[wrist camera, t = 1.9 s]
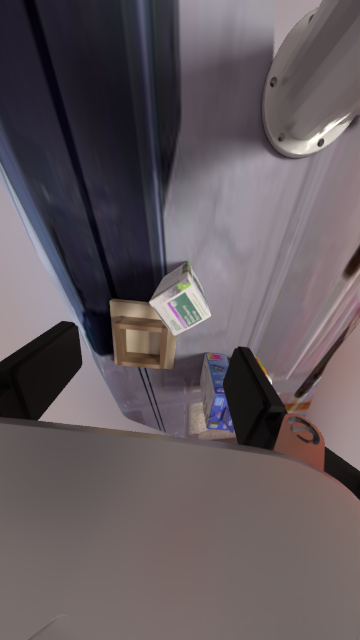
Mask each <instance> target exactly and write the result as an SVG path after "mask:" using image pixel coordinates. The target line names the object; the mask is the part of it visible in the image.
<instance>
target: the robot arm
mask: <svg viewBox="0 0 360 640" xmlns="http://www.w3.org/2000/svg"><path fill="white" fill-rule="evenodd" d="M271 86H272V87H271ZM356 115H360V0H323V1H322V2H321V4H320V6H319V7H317V8H316V9H314V10H312V11H311V12H309V13H308V14H307V15H306V16H304V17H303V18H302V19H301V20H300V21H299V22H298V23H297V24H296V25H295V27H294V28H293V29H292V30H291V31H290V33H289V34H288V35H287V37H286V38H285V40H284V42H283V43H282V45H281V46H280V48H279V50H278V52H277V54H276V56H275V58H274V60H273V62H272V65H271V67H270V70H269V72H268V75H267V78H266V82H265V86H264V91H263V99H262V119H263V125H264V129H265V132H266V135H267V138H268V140H269V141H270V143H271V145H272V146H273V147H274V148H275V149H276V150H277V151H278V152H279V153H281V154H283V155H284V156H287V157H291V158H303V157H307V156H311V155H313V154H315V153H317V152H319V151H321V150H322V149H324V148H325V147H327V146H328V145H330V144H331V143H332V142H333V141H335V140H336V139H337V138H338V137H339V136H340V135H341V134H342V133H343V132H344V131H345V130H346V128H347V127H348V126H349V124H350V123H351V121H352V120H353V119H354V117H355V116H356ZM278 139H279V140H280V142H279V141H278ZM81 366H82V355H81V347H80V339H79V331H78V326H77V325H75V323H73V322H67V321H61V322H60V323H58V324H57V325H55V326H54V327H52V328H51V329H49V330H48V331H46V332H45V333H43V334H42V335H40V336H39V337H37V338H36V339H34V340H32V341H31V342H29V343H28V344H26V345H25V346H23V347H22V348H20V349H19V350H17V351H16V352H14V353H13V354H11V355H10V356H8V357H7V358H5V359H4V360H2V361H1V362H0V640H360V471H359V470H357V469H356V468H355V467H353V466H352V465H350V464H349V463H348V462H346V461H345V460H343V459H342V458H341V457H339V456H338V455H336V454H335V453H334V452H332V451H331V450H329V449H328V448H327V447H325V443H324V438H323V436H322V434H321V432H320V431H319V430H318V429H317V427H316V426H315V425H314V424H312V423H311V422H310V421H309V420H307V419H306V418H304V417H302V416H301V415H298V414H295V413H287V411H286V409H285V406H284V404H283V403H282V401H281V399H280V398H279V396H278V394H277V393H276V391H275V390H274V388H273V386H272V385H271V383H270V381H269V380H268V378H267V376H266V375H265V373H264V371H263V370H262V368H261V367H260V365H259V363H258V362H257V360H256V358H255V357H254V355H253V353H252V352H251V350H250V349H249V348H247V347H240V346H239V347H238V348H235V349H234V352H233V355H232V358H231V360H230V363H229V366H228V369H227V371H226V374H225V377H224V380H223V389H224V393H225V397H226V400H227V404H228V408H229V412H230V415H231V419H232V423H233V426H234V430H235V434H236V438H237V441H238V444H239V445H238V444H230V443H224V442H216V441H208V440H200V439H192V438H183V437H175V436H167V435H159V434H150V433H141V432H132V431H123V430H115V429H107V428H98V427H90V426H80V425H70V424H62V423H53V422H44V421H38V419H40V417H41V416H42V415H43V413H44V412H45V411H46V410H47V409H48V407H49V406H50V405H51V403H52V402H53V401H54V400H55V399H56V398H57V396H58V395H59V394H60V393H61V391H62V390H63V389H64V388H65V386H66V385H67V384H68V383H69V382H70V380H71V379H72V378H73V377H74V375H75V374H76V373H77V372H78V370H79V369H80V368H81Z"/></svg>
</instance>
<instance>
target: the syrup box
mask: <svg viewBox="0 0 360 640" xmlns="http://www.w3.org/2000/svg"><path fill="white" fill-rule="evenodd" d="M149 303H150V305H151V306H152V307H153V308H154V310H155V311H156V313H157V314H158V316H159V317H160V319H161V320H162V322H163V323H164V324H165V325H166V327H167V328H168V329H169V331H170V332H171V333H172V335H173V336H176V335H177V334H179V333H181V332H183V331H185V330H187V329H189V328H191V327H193V326H195V325H197V324H198V323H200V322H202V321H204V320H205V319H207V318H209V317H210V316H211V314H210V311H209V308H208V304H207V301H206V297H205V294H204V291H203V288H202V285H201V283H200V281H199V279H198V278H197V276H196V274H195V272H194V271H193V269H192V267H191V266H190V264H189V262H188V261H186V262H185V263H184V264H182V265H181V266H179V267H178V268H176V269H175V270H173V271H172V272H170V273H169V274H167V275H166V276H164V277H163V279H162V281H161V282H160V284H159V286H158V288H157V289H156V291H155V293H154V295H153V296H152V298H151V300H150V301H149Z"/></svg>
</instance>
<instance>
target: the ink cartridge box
mask: <svg viewBox="0 0 360 640" xmlns="http://www.w3.org/2000/svg"><path fill="white" fill-rule="evenodd" d="M228 366H229V362H228V360H227V357H226V355H223V354H213V353H205V356H204V361H203V367H202V373H201V378H200V387H201V394H202V401H203V409H204V415H205V422H206V428H207V429H219V430H230V431H231V432H232V433H233V432H234V426H233V423H232V419H231V415H230V412H229V408H228V404H227V400H226V397H225V393H224V389H223V380H224V377H225V374H226V371H227V369H228Z"/></svg>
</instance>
